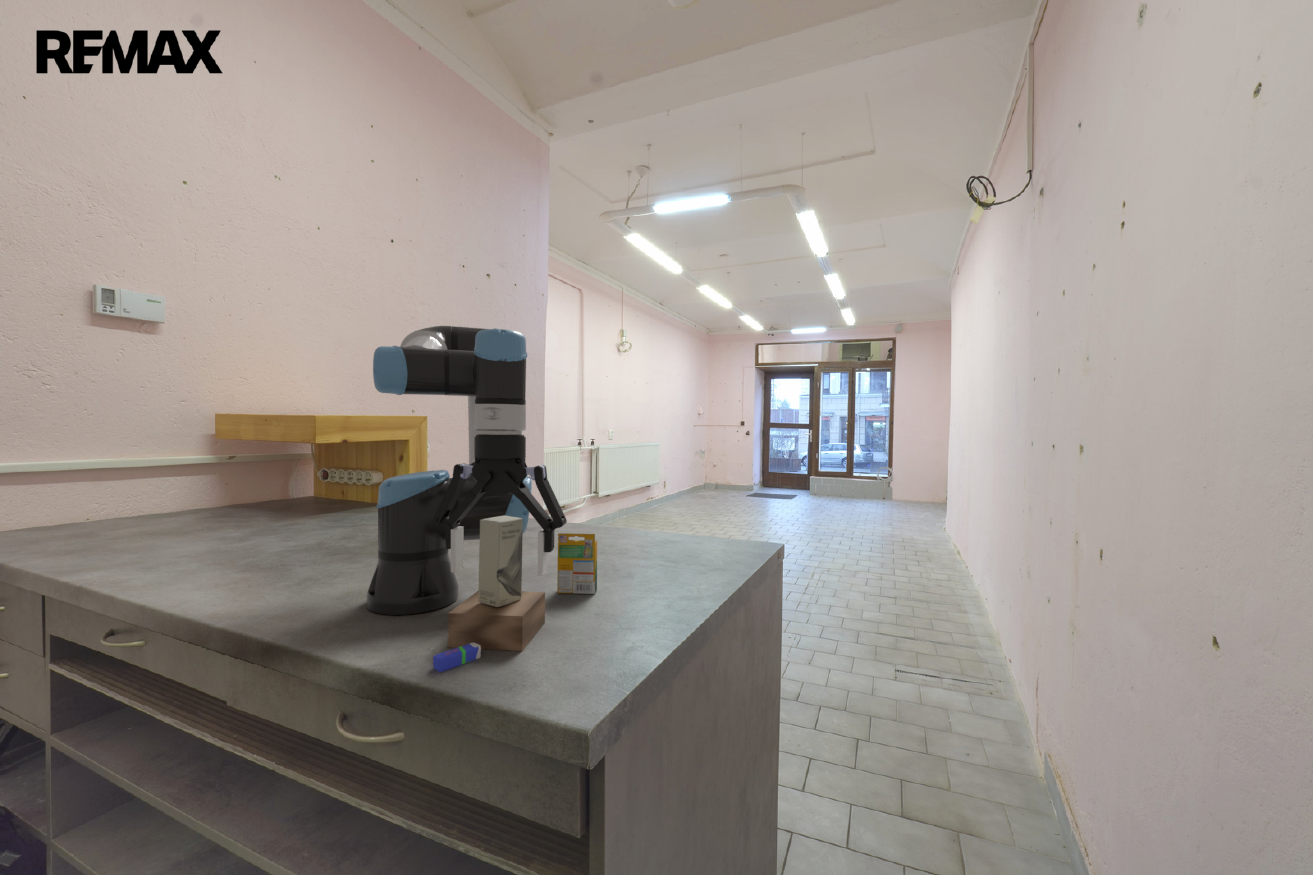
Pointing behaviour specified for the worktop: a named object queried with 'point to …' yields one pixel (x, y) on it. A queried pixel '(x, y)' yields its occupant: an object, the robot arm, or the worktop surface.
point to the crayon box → (577, 564)
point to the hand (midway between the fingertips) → (499, 571)
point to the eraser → (456, 657)
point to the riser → (497, 622)
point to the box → (500, 560)
